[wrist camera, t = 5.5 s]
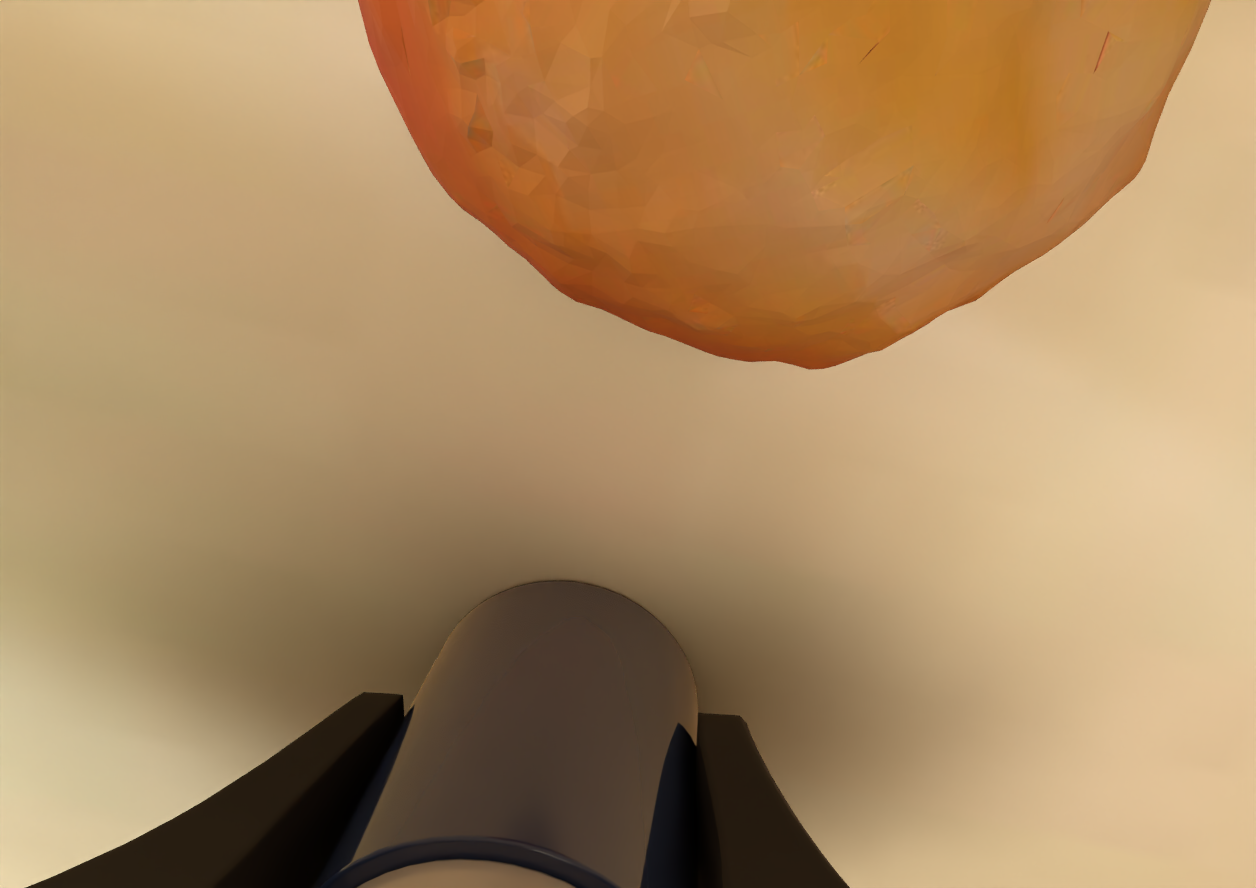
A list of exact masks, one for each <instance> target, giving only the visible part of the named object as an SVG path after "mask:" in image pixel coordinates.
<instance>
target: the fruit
mask: <svg viewBox="0 0 1256 888" xmlns="http://www.w3.org/2000/svg"><path fill="white" fill-rule="evenodd" d="M358 2H359V6H360V10H361V14H362V17H363V21H364V25H365V29H366V33H367V37H368V41H369V44H370V47H371V50H372V52H373V55H374V57H375V60H376V63H377V65H378V68H379V70H380V73H381V75H382V77H383V79H384V81H385V83H386V85H387V87H388V89H389V91H390V93H391V95H392V97H393V99H394V101H395V103H396V105H397V107H398V109H399V111H400V113H401V115H402V118H403V120H404V122H405V124H406V126H407V128H408V130H409V132H410V134H411V136H412V138H413V139H414V141H415V143H416V145H417V147H418V149H419V151H420V153H421V155H422V156H423V158H424V160H425V162H426V163H427V165H428V167H429V169H430V171H431V172H432V174H433V175H434V177H435V178H436V179H437V180H438V182H439V183H440V184H441V186H442V187H443V188H444V189H445V191H446V192H447V193H448V195H449V196H450V197H451V198H452V199H453V200H454V201H455V202H456V203H457V204H458V205H459V206H460V207H461V208H462V209H463V210H465V211H466V212H468V213H469V214H470V215H472V216H473V217H475V218H476V219H478V220H479V221H480V222H482V223H483V224H484V225H485V226H486V227H488V228H489V229H490V230H491V231H492V232H494V233H495V234H496V235H497V236H498V237H499V238H500V239H501V240H502V241H504V242H505V243H506V244H507V245H508V246H509V247H510V248H512V249H513V250H514V251H516V252H517V253H518V254H520V255H521V256H522V257H524V258H525V259H526V260H527V261H528V262H529V263H530V264H531V265H532V266H533V267H534V268H535V269H536V270H538V271H539V272H540V273H541V274H542V275H543V276H544V277H545V278H546V279H547V280H548V281H549V282H550V283H551V284H552V285H553V286H554V287H555V288H556V289H558V290H559V291H560V292H562V293H563V294H565V295H567V296H568V297H570V298H571V299H573V300H575V301H576V302H580V303H583V304H586V305H590V306H593V307H596V308H600V309H603V310H605V311H607V312H609V313H611V314H614V315H616V316H618V317H620V318H622V319H624V320H626V321H628V322H630V323H632V324H634V325H636V326H639V327H641V328H643V329H645V330H648V331H650V332H654V333H657V334H660V335H664V336H667V337H669V338H672V339H674V340H677V341H679V342H682V343H684V344H687V345H689V346H692V347H694V348H697V349H700V350H702V351H705V352H707V353H710V354H713V355H716V356H719V357H724V358H729V359H735V360H741V361H747V362H756V361H778V362H783V363H788V364H793V365H796V366H800V367H803V368H806V369H824V368H828V367H832V366H836V365H839V364H841V363H844V362H846V361H849V360H852V359H854V358H857V357H859V356H862V355H864V354H867V353H870V352H875V351H880V350H883V349H884V348H886V347H888V346H890V345H891V344H893V343H895V342H897V341H899V340H900V339H902V338H904V337H905V336H907V335H910V334H912V333H913V332H915V331H917V330H918V329H920V328H922V327H923V326H925V325H927V324H928V323H930V322H931V321H932V320H934V319H935V318H937V317H938V316H940V315H942V314H943V313H945V312H947V311H949V310H952V309H954V308H957V307H960V306H962V305H965V304H968V303H970V302H973V301H975V300H977V299H978V298H980V297H981V296H982V295H984V294H985V293H986V292H987V291H989V290H990V289H991V288H992V287H994V286H995V285H996V284H998V283H999V282H1000V281H1002V280H1003V279H1005V278H1006V277H1007V276H1009V275H1010V274H1012V273H1013V272H1014V271H1016V270H1018V269H1020V268H1021V267H1023V266H1025V265H1027V264H1028V263H1030V262H1032V261H1034V260H1035V259H1037V258H1039V257H1041V256H1042V255H1044V254H1045V253H1047V252H1048V251H1049V250H1051V249H1052V248H1054V247H1055V246H1057V245H1058V244H1059V243H1061V242H1062V241H1063V240H1065V239H1066V238H1067V237H1068V236H1070V235H1071V234H1072V233H1073V232H1075V231H1076V230H1077V229H1079V228H1080V227H1081V226H1082V225H1083V224H1084V223H1086V222H1087V221H1088V220H1089V219H1090V218H1091V217H1092V216H1093V215H1094V214H1095V213H1096V212H1097V211H1098V210H1099V209H1100V208H1101V207H1102V206H1103V205H1104V204H1105V203H1107V202H1108V201H1109V200H1110V199H1111V198H1112V197H1113V196H1114V195H1115V194H1117V193H1118V192H1119V191H1120V190H1122V189H1123V188H1124V187H1125V186H1126V185H1127V184H1129V183H1130V182H1131V181H1132V180H1133V179H1134V178H1135V177H1136V175H1137V174H1138V173H1139V171H1140V170H1141V168H1142V166H1143V164H1144V162H1145V161H1146V157H1147V154H1148V151H1149V148H1150V144H1151V141H1152V138H1153V135H1154V131H1155V129H1156V126H1157V123H1158V121H1159V118H1160V116H1161V113H1162V110H1163V108H1164V105H1165V102H1166V100H1167V97H1168V94H1169V92H1170V90H1171V88H1172V86H1173V84H1174V82H1175V80H1176V78H1177V76H1178V74H1179V72H1180V70H1181V68H1182V66H1183V64H1184V62H1185V60H1186V58H1187V56H1188V54H1189V52H1190V50H1191V48H1192V46H1193V43H1194V41H1195V39H1196V36H1197V34H1198V31H1199V29H1200V27H1201V24H1202V22H1203V19H1204V17H1205V14H1206V12H1207V10H1208V7H1209V4H1210V2H1211V0H358Z"/></svg>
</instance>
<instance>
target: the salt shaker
mask: <svg viewBox="0 0 1256 888" xmlns="http://www.w3.org/2000/svg"><path fill="white" fill-rule="evenodd" d="M697 723H698V698H697V690H696V684H695V680H694V677H693V673H692V670H691V667H690V665H689V663H688V661H687V658H686V656H685V654H684V653H683V651H682V649H681V648H680V646H679V644H678V643H677V641H676V640H675V639H674V637H673V636H672V635H671V634H670V632H669V631H668V630H667V629H666V628H665V627H664V626H663V625H662V624H661V623H660V622H659V621H658V620H657V619H656V618H655V617H654V616H653V615H651V614H650V613H649V612H647V611H646V610H645V609H643V608H642V607H641V606H639V605H638V604H636V603H634V602H632V601H631V600H629V599H627V598H625V597H623V596H621V595H619V594H616V593H614V592H612V591H609V590H607V589H604V588H600V587H596V586H593V585H589V584H583V583H576V582H567V581H548V582H537V583H531V584H527V585H522V586H517V587H515V588H512V589H509V590H506V591H503V592H501V593H499V594H497V595H495V596H493V597H491V598H489V599H487V600H485V601H484V602H482V603H481V604H480V605H478V606H477V607H475V608H474V609H473V610H471V611H470V612H469V613H468V614H467V615H466V616H465V617H464V618H463V619H462V620H461V621H460V622H459V623H458V625H457V626H456V627H455V628H454V630H453V631H452V632H451V634H450V635H449V637H448V639H447V640H446V642H445V644H444V646H443V647H442V649H441V651H440V653H439V655H438V657H437V658H436V660H435V662H434V664H433V666H432V668H431V669H430V671H429V673H428V675H427V677H426V679H425V680H424V682H423V684H422V686H421V688H420V690H419V691H418V693H417V695H416V697H415V699H414V701H413V702H412V704H411V706H410V708H409V710H408V712H407V713H406V715H405V717H404V719H403V721H402V723H401V725H400V726H399V728H398V730H397V732H396V734H395V736H394V737H393V739H392V741H391V743H390V745H389V747H388V748H387V750H386V752H385V754H384V756H383V758H382V759H381V761H380V763H379V765H378V767H377V769H376V770H375V772H374V774H373V776H372V778H371V780H370V781H369V783H368V785H367V787H366V789H365V791H364V792H363V794H362V796H361V798H360V800H359V802H358V803H357V805H356V807H355V809H354V811H353V813H352V814H351V816H350V818H349V820H348V822H347V824H346V825H345V827H344V829H343V831H342V833H341V835H340V836H339V838H338V840H337V842H336V844H335V846H334V847H333V849H332V851H331V853H330V855H329V857H328V858H327V860H326V862H325V864H324V866H323V868H322V870H321V871H320V873H319V875H318V877H317V879H316V881H315V882H314V884H313V886H312V888H698V816H697V798H696V742H697Z"/></svg>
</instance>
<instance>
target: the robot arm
mask: <svg viewBox="0 0 1256 888" xmlns="http://www.w3.org/2000/svg"><path fill="white" fill-rule="evenodd" d="M403 719H404V702H403V695H400V694H384V693H368V692H363V693H362V694H360V695H359V696H357V697H355V698H354V699H352V700H351V701H349V702H348V703H347V704H345V705H344V706H342V707H341V708H340V709H338V710H337V711H335V712H334V713H333V714H331V715H330V716H328V717H327V718H326V719H324V720H323V721H322V722H320V723H319V724H317V725H316V726H315V727H313V728H312V729H310V730H309V731H308V732H306V733H305V734H304V735H302V736H301V737H299V738H298V739H296V740H295V741H294V742H292V743H291V744H289V745H288V746H286V747H285V748H284V749H282V750H281V751H279V752H278V753H277V754H275V755H274V756H272V757H271V758H269V759H268V760H267V761H265V762H264V763H262V764H261V765H259V766H258V767H256V768H254V769H253V770H251V771H250V772H248V773H247V774H245V775H244V776H242V777H240V778H239V779H237V780H236V781H234V782H233V783H231V784H230V785H228V786H226V787H225V788H223V789H222V790H220V791H219V792H217V793H216V794H214V795H212V796H211V797H209V798H208V799H206V800H205V801H203V802H201V803H199V804H198V805H196V806H194V807H193V808H191V809H189V810H188V811H186V812H184V813H182V814H180V815H179V816H177V817H175V818H173V819H172V820H170V821H168V822H166V823H164V824H162V825H160V826H158V827H157V828H155V829H153V830H151V831H149V832H147V833H145V834H143V835H141V836H140V837H138V838H136V839H134V840H132V841H130V842H128V843H126V844H124V845H122V846H120V847H117V848H115V849H113V850H111V851H108V852H106V853H104V854H102V855H100V856H97V857H95V858H93V859H91V860H89V861H86V862H84V863H82V864H80V865H78V866H75V867H73V868H71V869H69V870H67V871H64V872H62V873H60V874H58V875H56V876H53V877H51V878H48V879H46V880H44V881H41V882H39V883H36V884H34V885H31V886H28V887H26V888H312V886H313V884H314V882H315V881H316V879H317V877H318V875H319V873H320V871H321V870H322V868H323V866H324V864H325V862H326V860H327V858H328V857H329V855H330V853H331V851H332V849H333V847H334V846H335V844H336V842H337V840H338V838H339V836H340V835H341V833H342V831H343V829H344V827H345V825H346V824H347V822H348V820H349V818H350V816H351V814H352V813H353V811H354V809H355V807H356V805H357V803H358V802H359V800H360V798H361V796H362V794H363V792H364V791H365V789H366V787H367V785H368V783H369V781H370V780H371V778H372V776H373V774H374V772H375V770H376V769H377V767H378V765H379V763H380V761H381V759H382V758H383V756H384V754H385V752H386V750H387V748H388V747H389V745H390V743H391V741H392V739H393V737H394V736H395V734H396V732H397V730H398V728H399V726H400V725H401V723H402V721H403ZM696 798H697V816H698V888H850V887H849V886H848V885H847V884H846V883H845V882H844V881H843V879H842V878H841V877H840V876H839V874H838V873H837V872H836V871H835V869H834V868H833V867H832V866H831V864H830V863H829V862H828V861H827V859H826V858H825V857H824V855H823V854H822V853H821V851H820V850H819V849H818V847H817V846H816V844H815V843H814V842H813V840H812V839H811V837H810V836H809V835H808V833H807V832H806V830H805V829H804V828H803V826H802V825H801V823H800V822H799V820H798V819H797V817H796V816H795V814H794V813H793V811H792V809H791V808H790V806H789V804H788V803H787V801H786V800H785V798H784V796H783V795H782V793H781V791H780V790H779V788H778V787H777V785H776V783H775V781H774V780H773V778H772V776H771V774H770V773H769V771H768V769H767V767H766V765H765V763H764V761H763V759H762V757H761V756H760V753H759V751H758V749H757V747H756V745H755V743H754V741H753V739H752V736H751V734H750V732H749V729H748V726H747V723H746V722H745V721H744V720H743V719H742V718H741V717H740V716H735V715H719V714H703V713H698V723H697V742H696Z"/></svg>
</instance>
